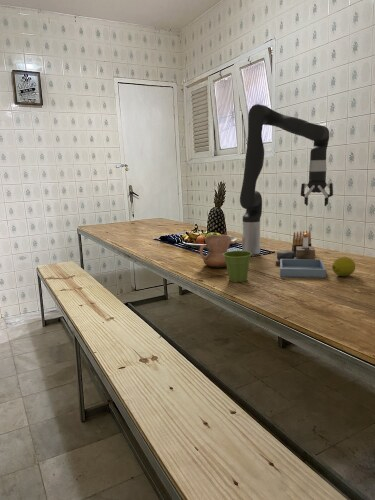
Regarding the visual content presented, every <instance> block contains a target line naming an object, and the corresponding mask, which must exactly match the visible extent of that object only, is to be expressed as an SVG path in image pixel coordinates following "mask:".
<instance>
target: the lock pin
mask: <svg viewBox="0 0 375 500" xmlns="http://www.w3.org/2000/svg"><path fill="white" fill-rule="evenodd" d="M301 233H302V236H303V249H308V236H309V232H308V233H306V232H304V233H303V232H301Z"/></svg>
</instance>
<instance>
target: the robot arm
mask: <svg viewBox="0 0 375 500" xmlns="http://www.w3.org/2000/svg"><path fill="white" fill-rule="evenodd" d="M247 116H248V117H247V122H248V123H247V141H246V150H245V151H246V152H245V157H244V158H245V159H244V170H243V179H242V186H241V190H240V195H239V204H240V206H241V207H242V208H243V209H245V213H244V214H243V216H242V236H241V239H242V241H241V243H242V245H241V246H242V250H241V251H248V252H251V253H252V255H251V256H253V255H259V254H261V217H262V213H263V198H262V194H261V193H260V192H259V191H258V190H256V187H257V186H256V185H257V181H258V178H259V176H260V174H261V172H262V170H263V167H264V162H265V161H264V160H265V146H264V142H263V138H262V137H263V136H262V134H263V133H262V131H263V125H264V126H272V127H275V128H279V129H281V130H284V132H285V131H286V132H288V133H290V134H294V135H297V136H299V137H303V138H306V139H308V140H311V141H313V145H312V148H310V154H309V157H310V158H309V160H310V161H309V165H308V166H309V168H308V182H307V183H305V182H303V183H301V187H300V196H301V197H304V202H303V203H304V205H305V206H309V196H310V194H311V193H313V194H315V193H322V194H323V195H324V207H327V205H329V198H330V197H331V198H332V197H333V196H334V183H333V182H331V183H327V170H328V169H327V150H328V146H329V141H330V131H329V128H328V127H327V126H326V125H320V124H316V123H313V122H309V121H308V120H305V119H301V118H299V117H295V116H289V115H285V114H282V113H281V112H280V113H279V112H277V111H275V110H274V109H271V108H270V107H269V106H267V105H264V104H258V103H255V104H253V105H252V106H251V107H250V109H249V111H248V114H247ZM326 187H327V188H328V189H329V193H328V192H327V191H326V189H325V188H326ZM306 188H308V190H307V192H306V193H305V190H306Z"/></svg>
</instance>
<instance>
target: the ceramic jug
mask: <svg viewBox="0 0 375 500" xmlns="http://www.w3.org/2000/svg"><path fill="white" fill-rule="evenodd" d="M204 242H205V244H202V245H200V246H199V255H200V257H201V258H202V260H203V264H204V265H206V266H208V267H211V268H219V269H221V268H227V265H226V261H225V258H224V256H223V253H225V252H228V250H229V247H230V245H231V244H232V245H235V244H236V243H235V241H234V240H232V236H231V235H229V234H215V235H209V236H205V237H204ZM205 248H206V249H208V251H209V252H208V253H207V254H206V255H204V249H205Z"/></svg>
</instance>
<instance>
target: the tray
mask: <svg viewBox="0 0 375 500" xmlns="http://www.w3.org/2000/svg"><path fill="white" fill-rule="evenodd" d="M279 271H280V272H279V277H280V278H307V279H308V278H309V279H310V278H313V279H314V278H315V279H326V278H327V269H326V266H325V264H324V262H323V259H319V258H317V259H316V258H315V259H280V265H279Z"/></svg>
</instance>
